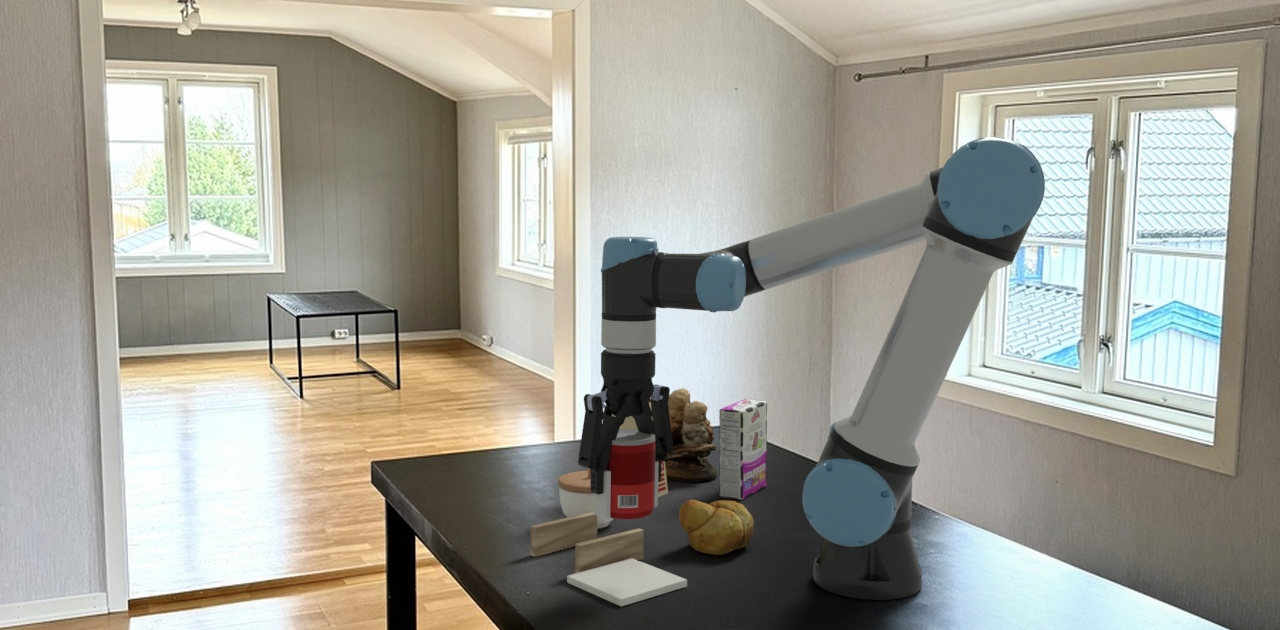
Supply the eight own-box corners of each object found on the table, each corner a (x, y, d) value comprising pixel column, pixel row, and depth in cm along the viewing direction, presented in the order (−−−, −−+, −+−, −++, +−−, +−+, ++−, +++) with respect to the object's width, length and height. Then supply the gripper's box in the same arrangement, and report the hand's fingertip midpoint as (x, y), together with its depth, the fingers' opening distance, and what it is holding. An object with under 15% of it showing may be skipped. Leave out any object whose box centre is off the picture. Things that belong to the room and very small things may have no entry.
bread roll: (725, 531, 185) (725, 483, 184) (772, 544, 179) (773, 495, 178) (672, 549, 176) (672, 498, 175) (720, 563, 169) (721, 511, 168)
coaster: (687, 586, 159) (687, 579, 159) (621, 606, 151) (621, 599, 151) (631, 564, 168) (631, 558, 168) (567, 582, 160) (567, 575, 160)
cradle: (643, 559, 171) (643, 530, 170) (580, 576, 163) (580, 546, 163) (592, 539, 180) (592, 511, 180) (530, 554, 172) (530, 526, 172)
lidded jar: (615, 535, 182) (615, 478, 181) (550, 531, 184) (550, 474, 183) (628, 517, 193) (629, 463, 192) (567, 512, 195) (568, 459, 194)
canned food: (665, 511, 159) (666, 434, 158) (626, 523, 153) (627, 443, 152) (626, 501, 164) (627, 426, 163) (586, 512, 158) (587, 434, 157)
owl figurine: (735, 479, 218) (737, 392, 216) (685, 488, 212) (686, 398, 210) (681, 460, 233) (682, 378, 231) (633, 467, 227) (633, 383, 225)
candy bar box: (742, 483, 215) (744, 398, 213) (767, 487, 213) (769, 400, 211) (716, 497, 205) (718, 407, 204) (742, 501, 203) (743, 410, 201)
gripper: (666, 340, 166) (663, 492, 168) (550, 352, 152) (550, 517, 155) (701, 346, 160) (698, 503, 163) (585, 359, 147) (583, 530, 149)
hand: (626, 510), depth 159 cm, fingers closed on canned food, 8 cm apart
